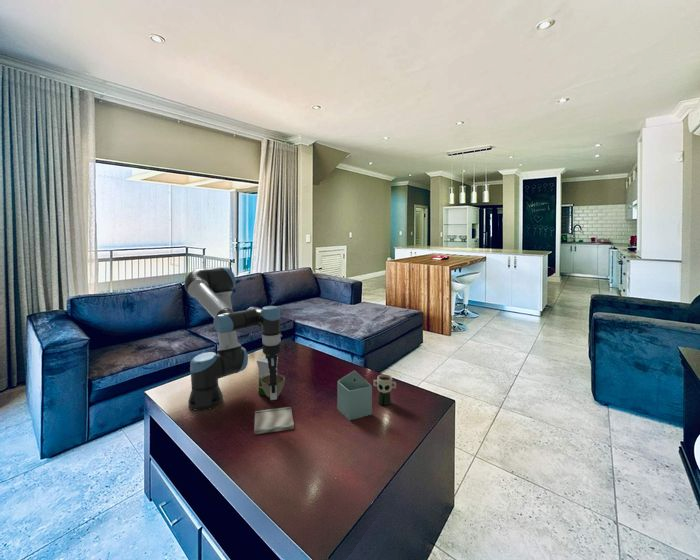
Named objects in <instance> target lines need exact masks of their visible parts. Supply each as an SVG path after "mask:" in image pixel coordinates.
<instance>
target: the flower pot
mask: <svg viewBox="0 0 700 560" xmlns="http://www.w3.org/2000/svg"><path fill="white" fill-rule="evenodd" d="M285 379H286V378H285V376H284V375H281V374H277V375H276V383H277V397H279V396H280V394H281V392H282V390H283V388H284V385H285ZM268 384H270V375H268V376H265V377H263V378H262V379H261V385H262V388H263V390H264V392H265V394H266V395H267V396H266V397H268V398H270V386H268Z"/></svg>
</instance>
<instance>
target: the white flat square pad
mask: <svg viewBox="0 0 700 560" xmlns="http://www.w3.org/2000/svg"><path fill="white" fill-rule="evenodd" d="M253 429H254V430H253V434H254V435H260V434H266V433H273V432H281V431H288V430H294V429H295V424H294V418H293V411H292V406H285V407H278V408H270V409H260V410H255V411H254V428H253Z"/></svg>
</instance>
